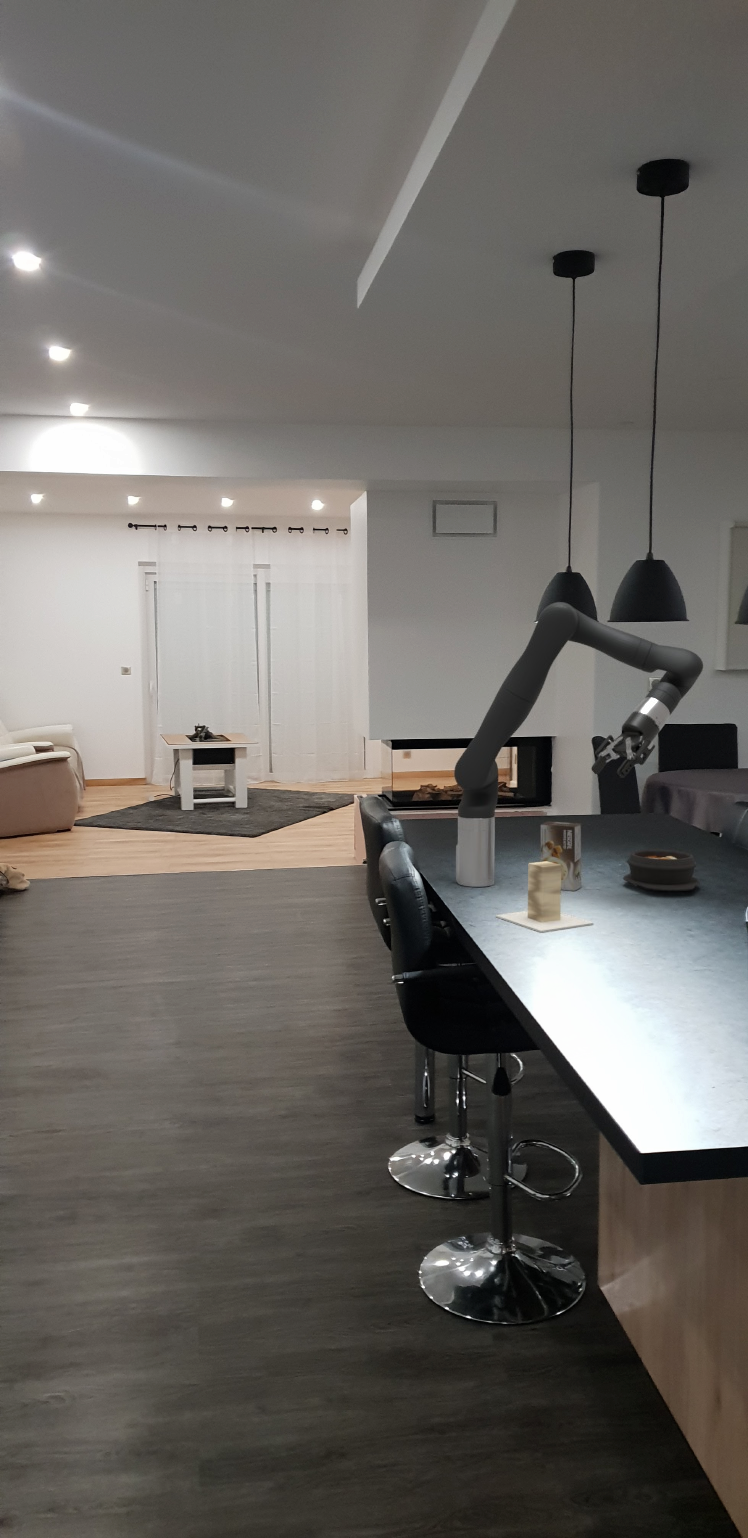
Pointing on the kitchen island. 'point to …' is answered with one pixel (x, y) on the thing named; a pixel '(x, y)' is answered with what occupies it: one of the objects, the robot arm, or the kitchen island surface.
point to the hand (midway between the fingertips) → (606, 773)
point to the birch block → (544, 891)
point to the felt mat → (563, 923)
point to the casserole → (662, 870)
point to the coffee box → (563, 850)
